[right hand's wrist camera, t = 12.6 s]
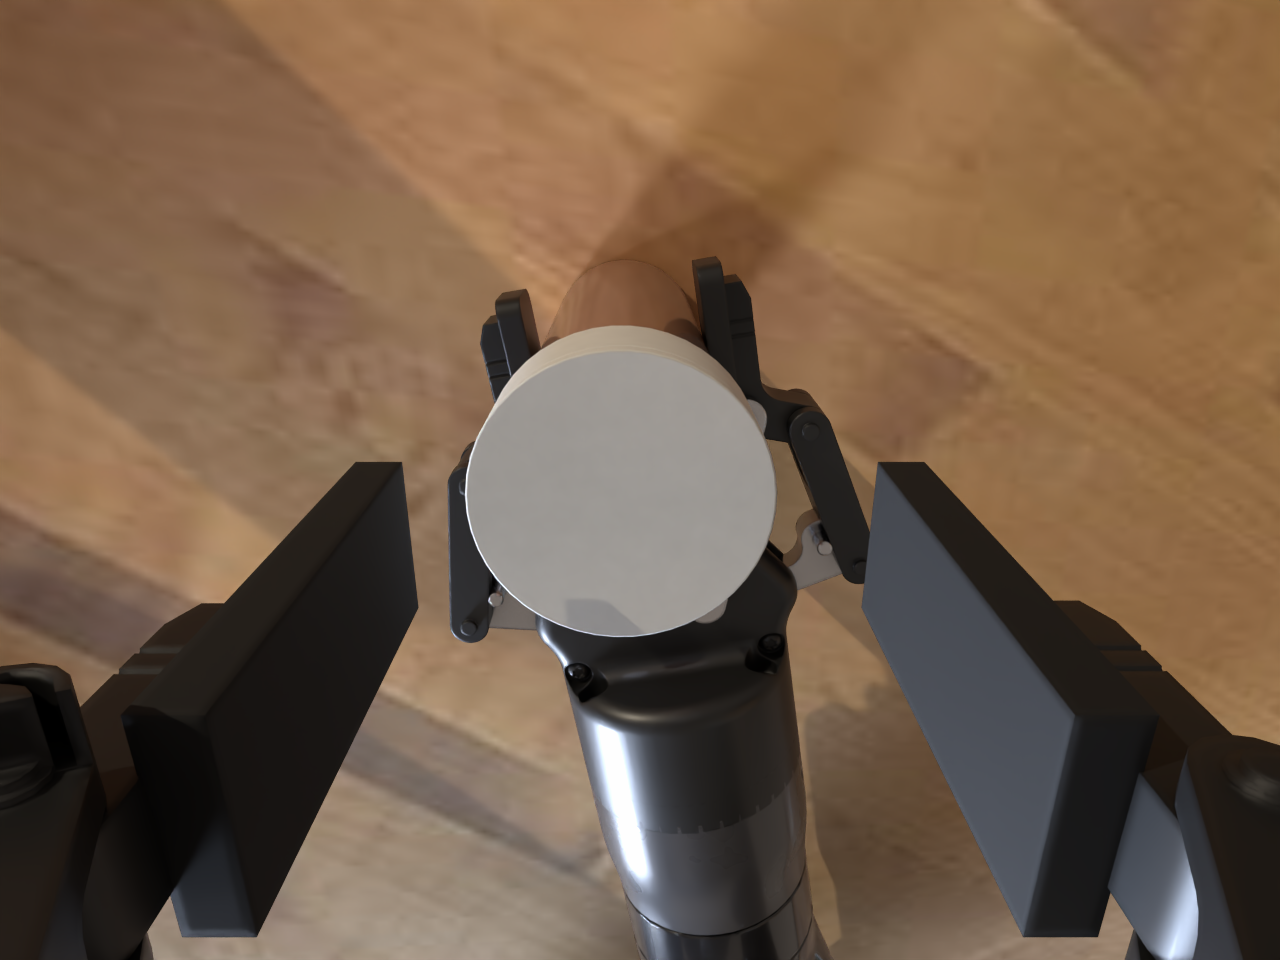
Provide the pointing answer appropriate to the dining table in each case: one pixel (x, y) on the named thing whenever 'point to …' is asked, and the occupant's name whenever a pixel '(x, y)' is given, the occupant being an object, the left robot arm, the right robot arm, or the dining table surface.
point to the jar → (625, 302)
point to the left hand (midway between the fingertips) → (607, 281)
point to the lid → (621, 483)
